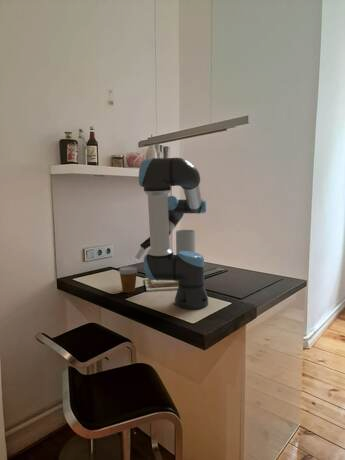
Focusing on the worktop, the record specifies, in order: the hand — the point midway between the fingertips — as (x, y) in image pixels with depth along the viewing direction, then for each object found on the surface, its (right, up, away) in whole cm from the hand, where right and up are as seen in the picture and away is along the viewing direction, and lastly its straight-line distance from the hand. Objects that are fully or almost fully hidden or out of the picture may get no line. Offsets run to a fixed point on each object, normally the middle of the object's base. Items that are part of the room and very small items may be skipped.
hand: (144, 260), depth 165 cm
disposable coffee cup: (-7, -16, -5) cm, 18 cm away
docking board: (+11, -14, +6) cm, 19 cm away
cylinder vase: (+24, -10, +42) cm, 49 cm away
